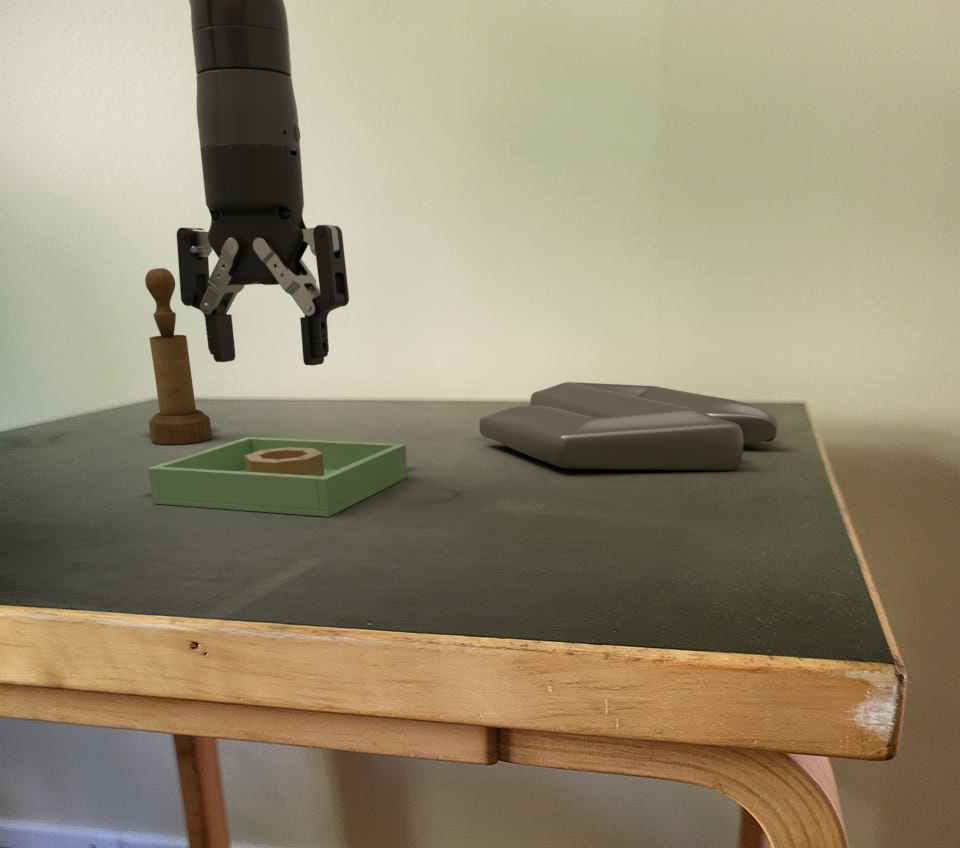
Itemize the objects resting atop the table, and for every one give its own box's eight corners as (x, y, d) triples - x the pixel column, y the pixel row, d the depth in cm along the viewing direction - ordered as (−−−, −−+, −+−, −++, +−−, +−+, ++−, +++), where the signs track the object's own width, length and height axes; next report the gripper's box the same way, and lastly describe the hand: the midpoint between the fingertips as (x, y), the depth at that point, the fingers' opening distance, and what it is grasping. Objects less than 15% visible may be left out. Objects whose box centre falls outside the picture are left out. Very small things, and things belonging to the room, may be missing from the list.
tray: (152, 503, 81) (147, 468, 79) (250, 468, 93) (247, 436, 92) (329, 517, 75) (325, 478, 74) (407, 477, 88) (405, 444, 86)
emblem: (426, 405, 92) (567, 372, 114) (429, 461, 94) (567, 418, 116) (707, 426, 78) (808, 383, 99) (703, 491, 80) (803, 436, 101)
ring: (235, 490, 82) (231, 459, 81) (274, 474, 88) (271, 446, 87) (299, 494, 80) (296, 463, 79) (335, 478, 86) (333, 449, 85)
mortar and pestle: (170, 447, 105) (144, 269, 98) (140, 441, 109) (113, 269, 102) (223, 438, 109) (202, 267, 102) (192, 432, 113) (170, 267, 106)
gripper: (142, 143, 73) (169, 365, 79) (307, 134, 69) (323, 370, 75) (201, 152, 80) (222, 356, 86) (355, 144, 75) (366, 361, 81)
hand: (269, 362), depth 80 cm, fingers open, 8 cm apart
